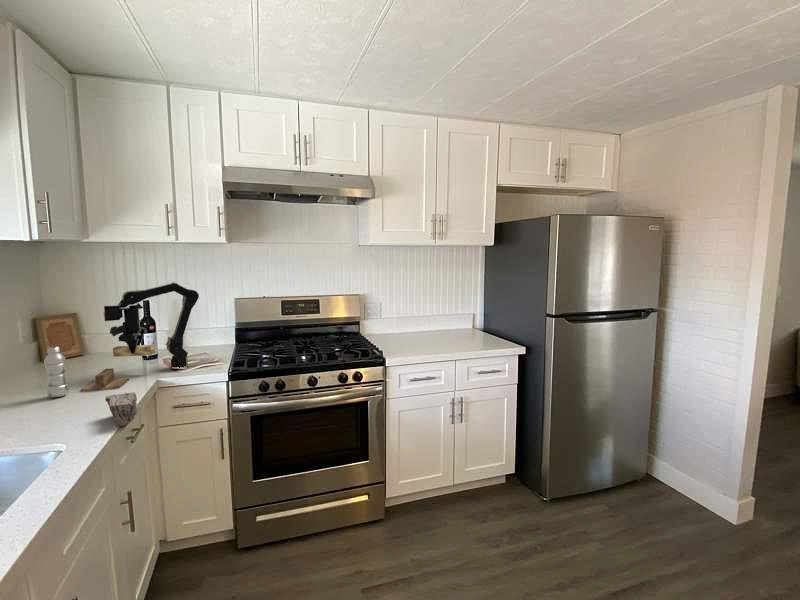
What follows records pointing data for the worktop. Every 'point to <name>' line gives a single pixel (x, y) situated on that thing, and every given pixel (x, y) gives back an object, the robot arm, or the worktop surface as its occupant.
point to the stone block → (122, 407)
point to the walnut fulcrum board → (110, 386)
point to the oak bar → (140, 350)
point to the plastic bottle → (55, 373)
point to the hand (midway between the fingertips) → (134, 352)
